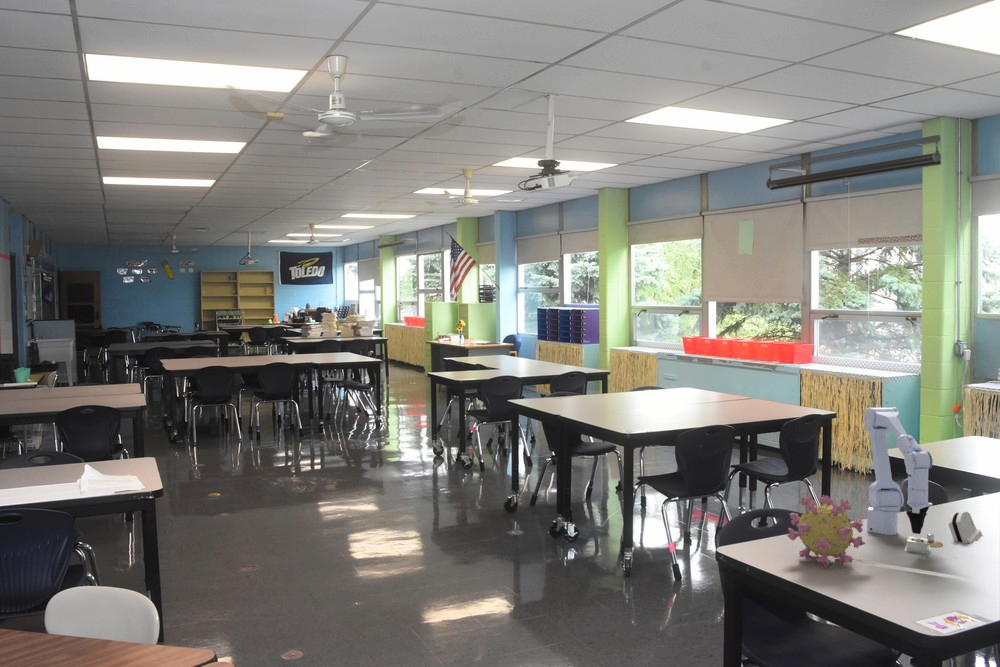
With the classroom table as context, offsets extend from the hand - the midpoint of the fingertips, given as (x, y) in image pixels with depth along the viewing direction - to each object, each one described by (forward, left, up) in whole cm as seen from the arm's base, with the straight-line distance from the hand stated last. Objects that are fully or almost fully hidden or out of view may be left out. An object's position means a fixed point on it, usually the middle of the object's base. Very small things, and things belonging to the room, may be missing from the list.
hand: (917, 530), depth 245 cm
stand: (0, 0, -7) cm, 7 cm away
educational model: (-23, -25, -7) cm, 35 cm away
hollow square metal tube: (0, 0, -6) cm, 6 cm away
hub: (+3, +9, -7) cm, 12 cm away
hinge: (+12, +24, -8) cm, 28 cm away
